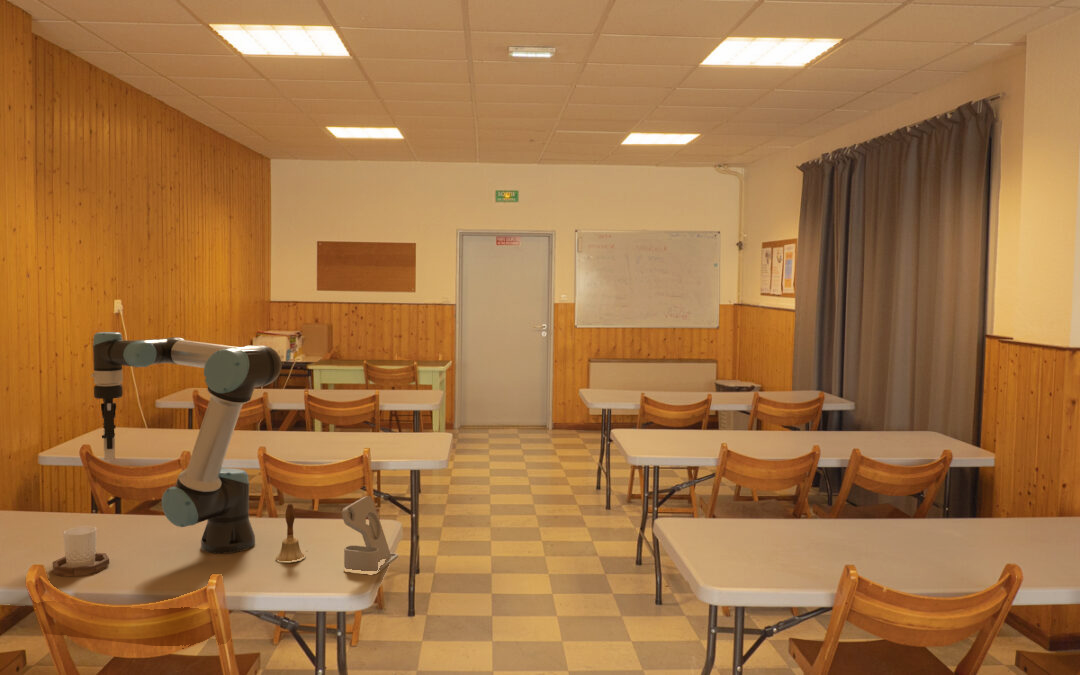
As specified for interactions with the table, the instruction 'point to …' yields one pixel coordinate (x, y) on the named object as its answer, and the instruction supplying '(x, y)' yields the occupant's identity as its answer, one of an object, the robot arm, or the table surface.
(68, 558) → the white cup
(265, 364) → the robot arm
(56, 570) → the coaster ring
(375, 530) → the phone holder
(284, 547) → the hand bell
